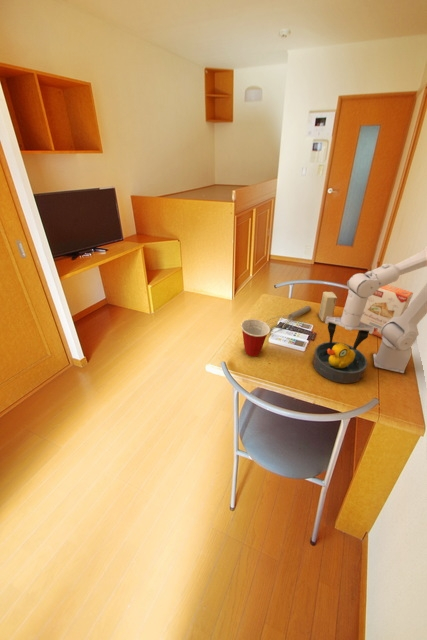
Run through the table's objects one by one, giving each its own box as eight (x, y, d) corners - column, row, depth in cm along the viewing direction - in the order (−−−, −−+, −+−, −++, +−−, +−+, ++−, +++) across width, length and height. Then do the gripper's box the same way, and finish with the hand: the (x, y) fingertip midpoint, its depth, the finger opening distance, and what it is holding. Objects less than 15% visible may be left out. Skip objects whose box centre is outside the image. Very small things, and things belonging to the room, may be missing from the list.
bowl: (362, 358, 109) (366, 348, 106) (364, 389, 95) (368, 378, 93) (314, 348, 114) (317, 337, 112) (310, 376, 101) (312, 365, 98)
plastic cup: (262, 364, 106) (266, 337, 99) (235, 356, 110) (236, 330, 103) (270, 348, 114) (274, 322, 108) (244, 341, 118) (246, 315, 112)
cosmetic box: (331, 322, 131) (337, 297, 124) (322, 321, 131) (327, 297, 124) (327, 314, 136) (333, 291, 130) (317, 314, 136) (323, 291, 130)
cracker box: (356, 328, 127) (370, 284, 116) (362, 323, 130) (376, 280, 119) (389, 342, 118) (408, 296, 107) (395, 336, 121) (414, 291, 110)
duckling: (327, 373, 101) (333, 351, 96) (318, 364, 105) (324, 341, 100) (355, 368, 103) (363, 346, 98) (346, 359, 108) (353, 337, 102)
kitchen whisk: (316, 311, 139) (318, 299, 136) (272, 338, 120) (273, 326, 116) (305, 306, 143) (307, 295, 139) (260, 332, 124) (262, 320, 120)
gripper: (328, 311, 92) (319, 345, 99) (378, 322, 87) (365, 357, 94) (330, 302, 97) (321, 335, 104) (377, 311, 93) (365, 345, 100)
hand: (342, 345), depth 100 cm, fingers open, 7 cm apart
